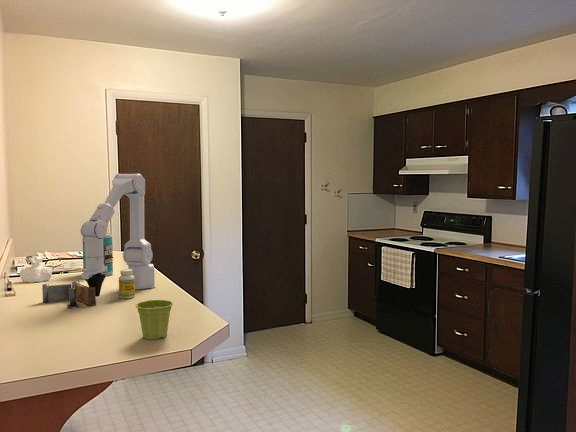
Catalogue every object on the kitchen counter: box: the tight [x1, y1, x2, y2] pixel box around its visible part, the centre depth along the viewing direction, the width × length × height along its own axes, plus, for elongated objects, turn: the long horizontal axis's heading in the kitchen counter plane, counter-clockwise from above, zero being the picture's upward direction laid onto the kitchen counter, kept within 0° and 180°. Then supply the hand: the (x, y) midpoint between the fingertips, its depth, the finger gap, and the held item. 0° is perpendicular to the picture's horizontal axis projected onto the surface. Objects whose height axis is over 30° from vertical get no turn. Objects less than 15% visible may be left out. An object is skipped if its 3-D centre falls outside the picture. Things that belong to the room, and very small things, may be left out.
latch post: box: [66, 288, 80, 310], centre depth 155 cm, size 3×3×6 cm
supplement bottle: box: [118, 268, 136, 299], centre depth 169 cm, size 5×5×10 cm
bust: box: [19, 255, 53, 284], centre depth 197 cm, size 12×8×11 cm
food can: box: [82, 232, 114, 278], centre depth 209 cm, size 12×12×18 cm
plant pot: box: [135, 299, 174, 340], centre depth 125 cm, size 9×9×9 cm
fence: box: [41, 280, 80, 304], centre depth 164 cm, size 12×2×6 cm, turn 119°
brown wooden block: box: [75, 283, 97, 307], centre depth 161 cm, size 12×2×6 cm, turn 46°
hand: (95, 296), depth 162 cm, fingers closed
